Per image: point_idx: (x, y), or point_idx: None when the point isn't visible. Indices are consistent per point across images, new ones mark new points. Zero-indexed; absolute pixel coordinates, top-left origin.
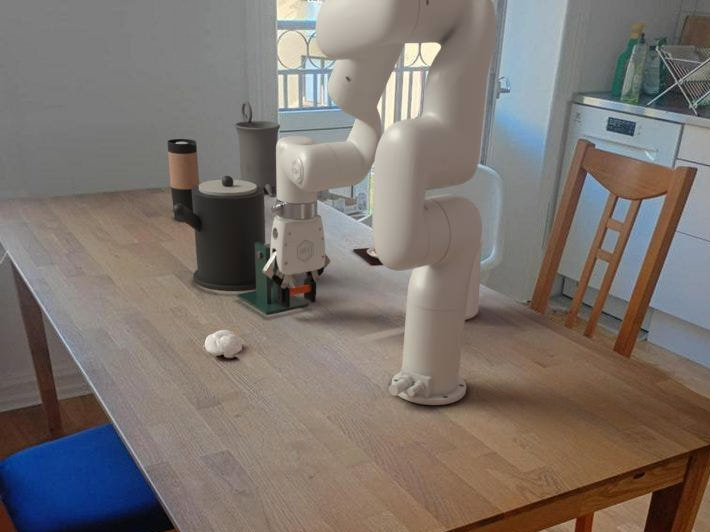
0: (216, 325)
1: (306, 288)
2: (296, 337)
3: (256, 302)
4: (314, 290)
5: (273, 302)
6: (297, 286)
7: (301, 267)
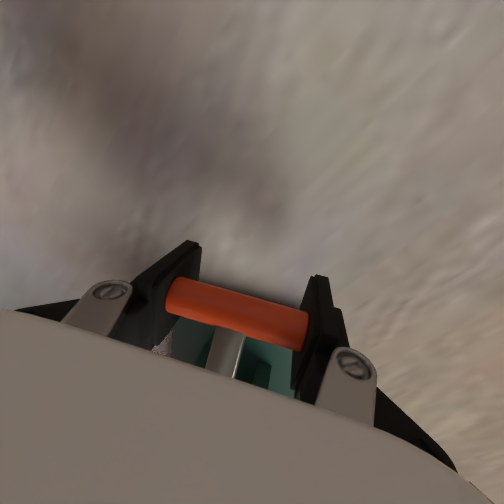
0: (465, 388)
1: (196, 291)
2: (396, 140)
3: (284, 390)
4: (165, 261)
5: (249, 361)
6: (227, 329)
7: (216, 439)
